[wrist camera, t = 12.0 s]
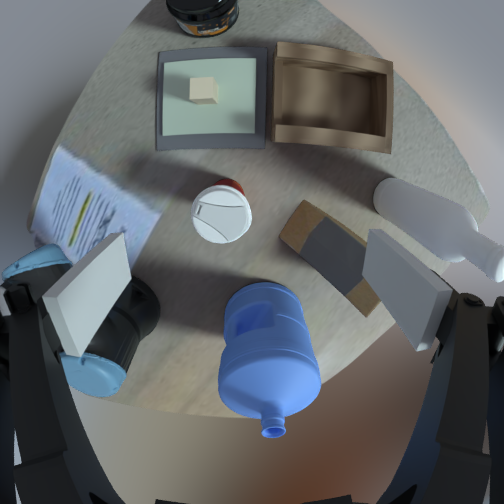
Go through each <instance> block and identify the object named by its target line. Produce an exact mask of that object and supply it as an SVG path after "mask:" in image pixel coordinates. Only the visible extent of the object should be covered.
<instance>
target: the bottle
mask: <svg viewBox="0 0 504 504" xmlns="http://www.w3.org/2000/svg"><path fill="white" fill-rule="evenodd" d="M373 204H374V207H375V209H376V211H377V212H378V213H379V214H380V215H381V216H382V217H383V218H385V219H386V220H388V221H390V222H391V223H393V224H394V225H396V226H397V227H398V228H400V229H401V230H403V231H404V232H405V233H407V234H408V235H409V236H411V237H412V238H414V239H415V240H416V241H418V242H419V243H420V244H422V245H423V246H424V247H425V248H427V249H428V250H429V251H431V252H432V253H433V254H435V255H436V256H437V257H439V258H440V259H442V260H445V261H450V262H460V261H462V260H464V259H467V260H469V261H470V262H471V263H473V264H474V265H475V266H477V267H478V268H479V269H481V270H482V271H483V272H484V273H485V274H486V276H487V277H489V278H490V279H493V280H494V281H496V282H501V281H503V280H504V246H502V245H498V244H497V243H495V242H494V241H492V240H490V239H489V238H487V237H485V236H484V235H482V234H480V233H479V232H478V225H477V223H476V221H475V219H474V217H473V216H472V215H471V213H470V212H469V211H468V210H467V209H466V208H465V207H463V206H462V205H460V204H458V203H455V202H453V201H451V200H449V199H446V198H444V197H442V196H439V195H437V194H435V193H432V192H430V191H427V190H425V189H423V188H420V187H418V186H415V185H412V184H410V183H407V182H405V181H403V180H401V179H396V178H387V179H384V180H383V181H381V182H380V183H379V184H378V186H377V187H376V189H375V191H374V195H373Z"/></svg>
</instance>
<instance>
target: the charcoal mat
mask: <svg viewBox="0 0 504 504" xmlns="http://www.w3.org/2000/svg"><path fill="white" fill-rule="evenodd" d="M220 58H256V92H255V133H208V134H184V135H168V136H163V81H164V63H168V62H177V61H187V60H200V59H220ZM266 79H267V47H209V48H193V49H182V50H173V51H165V52H160V53H159V68H158V89H157V151H160V150H177V149H204V148H255V149H265V119H266Z"/></svg>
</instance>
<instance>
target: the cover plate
mask: <svg viewBox="0 0 504 504" xmlns="http://www.w3.org/2000/svg"><path fill="white" fill-rule="evenodd" d="M255 92H256V58H220V59H200V60H187V61H177V62H168V63H164V81H163V136H168V135H184V134H208V133H255Z"/></svg>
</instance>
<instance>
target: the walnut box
mask: <svg viewBox="0 0 504 504" xmlns="http://www.w3.org/2000/svg"><path fill="white" fill-rule="evenodd" d="M393 96H394V88H393V62H391V61H388V60H384V59H380V58H377V57H373V56H369V55H364V54H360V53H355V52H351V51H346V50H340V49H335V48H329V47H323V46H316V45H308V44H300V43H290V42H277V45H276V48H275V51H274V53H273V78H272V119H271V141H272V142H285V143H301V144H314V145H325V146H335V147H344V148H352V149H360V150H367V151H374V152H381V153H387V154H391V147H392V131H393Z"/></svg>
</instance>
